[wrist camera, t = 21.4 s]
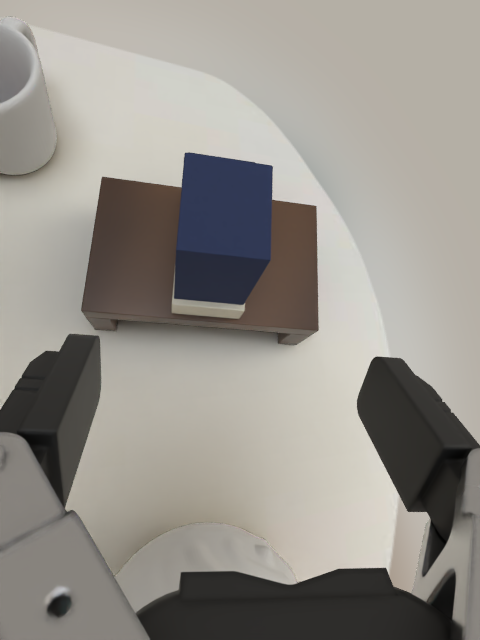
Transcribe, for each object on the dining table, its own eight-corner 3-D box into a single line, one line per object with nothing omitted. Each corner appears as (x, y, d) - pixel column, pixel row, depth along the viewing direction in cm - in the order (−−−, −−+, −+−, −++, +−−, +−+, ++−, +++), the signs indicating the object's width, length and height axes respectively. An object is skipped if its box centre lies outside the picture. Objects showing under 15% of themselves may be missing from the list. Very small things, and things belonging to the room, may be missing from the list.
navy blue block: (239, 319, 27) (272, 268, 18) (171, 313, 26) (172, 257, 17) (244, 203, 29) (275, 110, 21) (182, 195, 28) (188, 95, 20)
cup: (-2, 71, 34) (-51, -32, 26) (90, 98, 35) (69, 6, 27) (-53, 173, 31) (-124, 90, 23) (50, 200, 32) (14, 128, 24)
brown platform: (94, 329, 30) (80, 310, 25) (111, 212, 32) (101, 176, 28) (296, 345, 32) (318, 330, 28) (296, 235, 35) (316, 205, 30)
